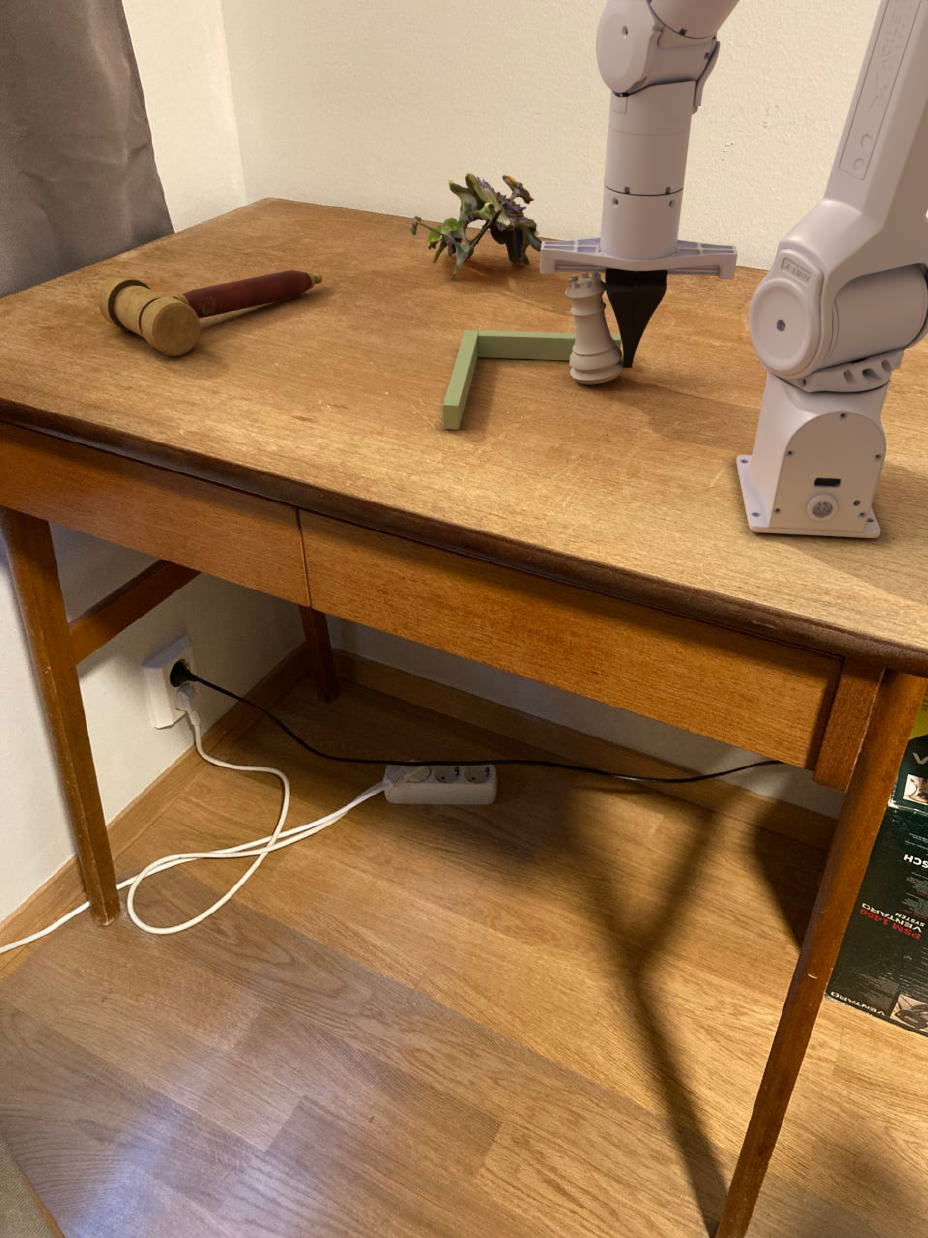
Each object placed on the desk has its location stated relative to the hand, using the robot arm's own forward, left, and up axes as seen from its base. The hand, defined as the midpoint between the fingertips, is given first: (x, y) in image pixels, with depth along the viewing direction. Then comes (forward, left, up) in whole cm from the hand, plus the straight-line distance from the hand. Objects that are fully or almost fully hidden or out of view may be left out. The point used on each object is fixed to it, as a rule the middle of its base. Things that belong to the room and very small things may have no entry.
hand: (627, 362), depth 81 cm
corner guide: (-3, +7, -1) cm, 8 cm away
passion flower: (+25, +15, -2) cm, 29 cm away
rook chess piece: (0, +2, -1) cm, 3 cm away
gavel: (+11, +37, -2) cm, 38 cm away
